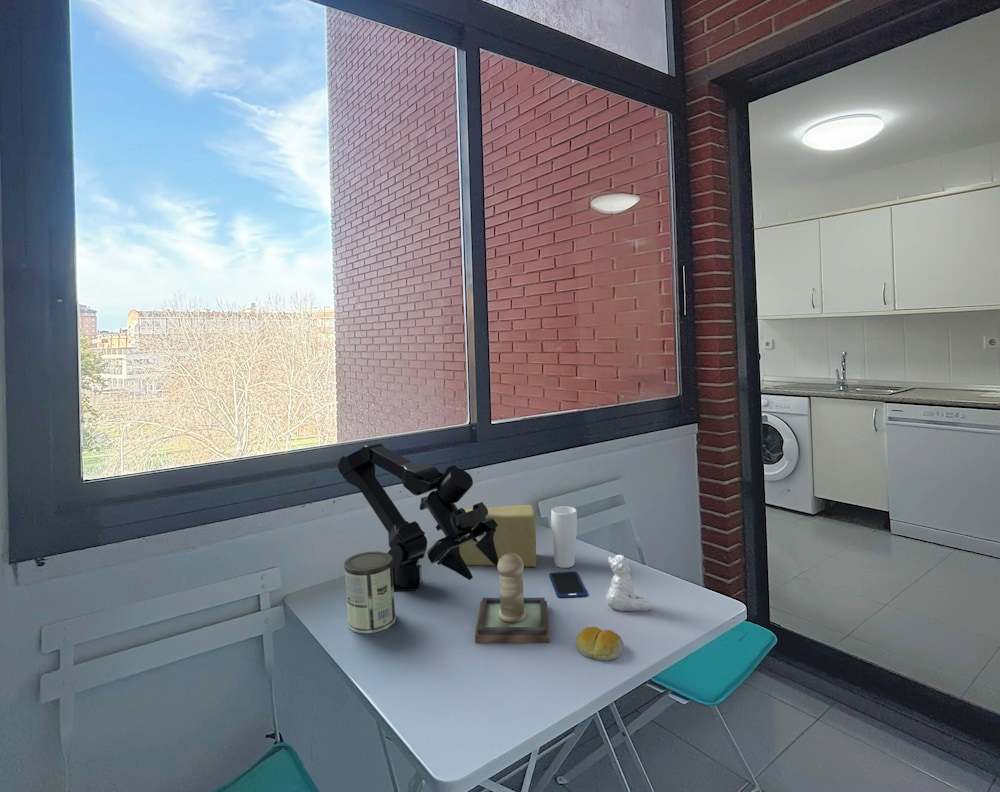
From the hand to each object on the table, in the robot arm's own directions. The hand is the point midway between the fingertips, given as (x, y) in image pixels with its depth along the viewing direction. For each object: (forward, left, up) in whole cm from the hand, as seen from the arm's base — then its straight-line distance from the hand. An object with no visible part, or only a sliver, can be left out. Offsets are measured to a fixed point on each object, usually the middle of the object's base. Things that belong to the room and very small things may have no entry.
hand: (484, 571), depth 131 cm
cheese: (0, +29, -10) cm, 30 cm away
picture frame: (+6, -4, -10) cm, 12 cm away
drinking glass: (+19, +27, -10) cm, 34 cm away
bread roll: (+23, -14, -10) cm, 29 cm away
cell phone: (+19, +15, -11) cm, 26 cm away
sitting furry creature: (+31, +4, -10) cm, 33 cm away
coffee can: (-25, -3, -10) cm, 27 cm away
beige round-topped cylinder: (+6, -4, -8) cm, 11 cm away
